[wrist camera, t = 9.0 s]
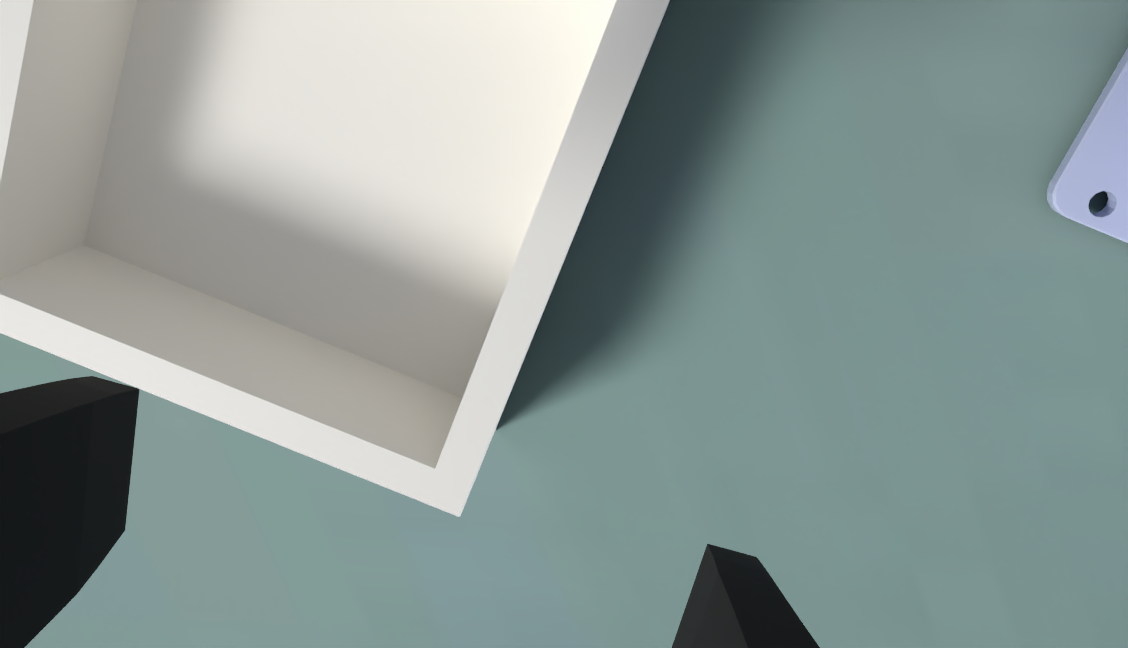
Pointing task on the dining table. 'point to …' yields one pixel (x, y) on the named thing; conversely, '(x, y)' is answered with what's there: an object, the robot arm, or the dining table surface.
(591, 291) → the dining table surface
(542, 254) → the box
